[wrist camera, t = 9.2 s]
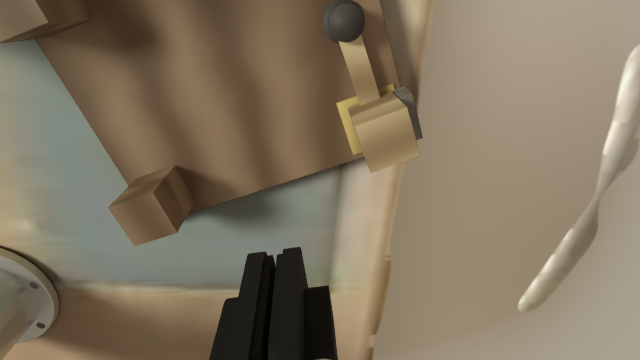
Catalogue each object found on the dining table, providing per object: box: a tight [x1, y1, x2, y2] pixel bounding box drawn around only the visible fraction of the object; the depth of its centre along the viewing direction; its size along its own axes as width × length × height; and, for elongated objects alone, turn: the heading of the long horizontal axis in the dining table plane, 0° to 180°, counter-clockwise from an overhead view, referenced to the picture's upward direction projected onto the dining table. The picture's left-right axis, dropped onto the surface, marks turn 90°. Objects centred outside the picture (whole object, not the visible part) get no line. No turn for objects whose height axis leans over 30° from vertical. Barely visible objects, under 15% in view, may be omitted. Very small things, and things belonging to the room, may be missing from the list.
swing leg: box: [328, 4, 420, 173], centre depth 26 cm, size 11×4×5 cm, turn 21°
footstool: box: [0, 0, 423, 246], centre depth 26 cm, size 24×21×7 cm
